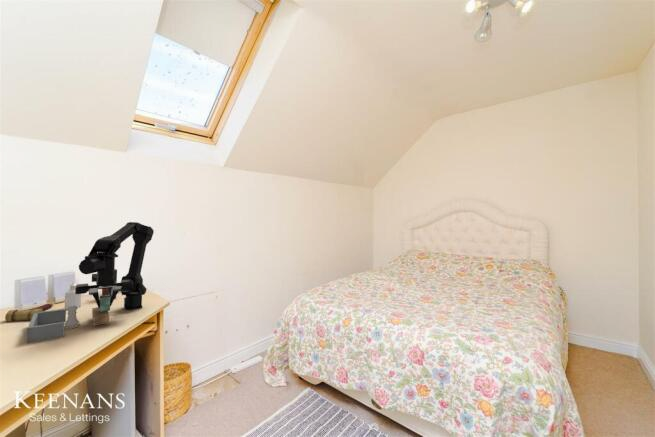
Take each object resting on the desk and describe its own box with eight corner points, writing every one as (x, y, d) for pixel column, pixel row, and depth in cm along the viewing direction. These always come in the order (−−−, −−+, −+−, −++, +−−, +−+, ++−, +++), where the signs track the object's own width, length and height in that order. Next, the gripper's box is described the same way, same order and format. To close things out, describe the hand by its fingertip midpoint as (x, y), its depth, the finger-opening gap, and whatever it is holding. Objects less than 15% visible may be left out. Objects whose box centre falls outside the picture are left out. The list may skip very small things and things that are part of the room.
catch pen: (65, 320, 119) (65, 308, 119) (63, 336, 104) (64, 322, 104) (33, 325, 113) (34, 312, 113) (26, 343, 98) (27, 328, 98)
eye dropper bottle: (67, 306, 135) (68, 281, 135) (82, 305, 138) (83, 280, 138) (63, 309, 131) (64, 283, 131) (78, 308, 134) (79, 282, 134)
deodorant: (104, 297, 152) (105, 269, 152) (117, 297, 154) (118, 268, 154) (99, 300, 146) (100, 271, 146) (113, 300, 148) (114, 271, 148)
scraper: (108, 312, 126) (108, 292, 126) (110, 322, 115) (111, 299, 115) (92, 315, 122) (92, 294, 122) (93, 325, 112) (93, 302, 111)
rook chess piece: (70, 324, 115) (70, 304, 115) (82, 324, 115) (82, 304, 115) (60, 329, 110) (61, 308, 110) (73, 329, 111) (73, 308, 111)
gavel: (39, 300, 135) (65, 299, 138) (38, 310, 134) (65, 309, 137) (5, 311, 115) (36, 310, 118) (4, 323, 114) (35, 321, 117)
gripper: (130, 264, 131) (129, 298, 132) (76, 268, 119) (74, 306, 119) (134, 268, 123) (132, 305, 123) (75, 273, 111) (74, 313, 111)
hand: (104, 307), depth 119 cm, fingers closed on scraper, 3 cm apart
